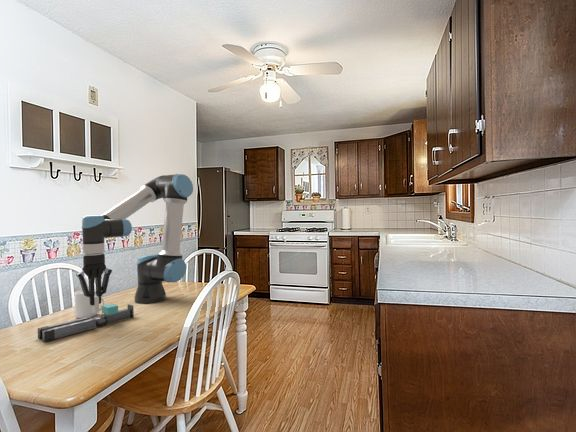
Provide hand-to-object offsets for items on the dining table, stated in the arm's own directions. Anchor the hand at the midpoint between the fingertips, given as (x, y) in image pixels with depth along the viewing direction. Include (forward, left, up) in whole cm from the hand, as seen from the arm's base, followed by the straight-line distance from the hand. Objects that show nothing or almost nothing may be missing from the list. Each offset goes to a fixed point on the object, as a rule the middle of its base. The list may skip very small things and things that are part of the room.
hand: (95, 312), depth 137 cm
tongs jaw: (+10, +2, -5) cm, 12 cm away
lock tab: (-5, 0, -1) cm, 6 cm away
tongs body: (+2, -1, -5) cm, 6 cm away
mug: (-4, -17, -6) cm, 18 cm away
